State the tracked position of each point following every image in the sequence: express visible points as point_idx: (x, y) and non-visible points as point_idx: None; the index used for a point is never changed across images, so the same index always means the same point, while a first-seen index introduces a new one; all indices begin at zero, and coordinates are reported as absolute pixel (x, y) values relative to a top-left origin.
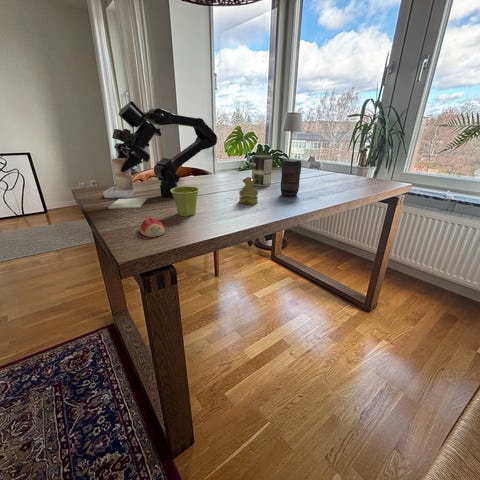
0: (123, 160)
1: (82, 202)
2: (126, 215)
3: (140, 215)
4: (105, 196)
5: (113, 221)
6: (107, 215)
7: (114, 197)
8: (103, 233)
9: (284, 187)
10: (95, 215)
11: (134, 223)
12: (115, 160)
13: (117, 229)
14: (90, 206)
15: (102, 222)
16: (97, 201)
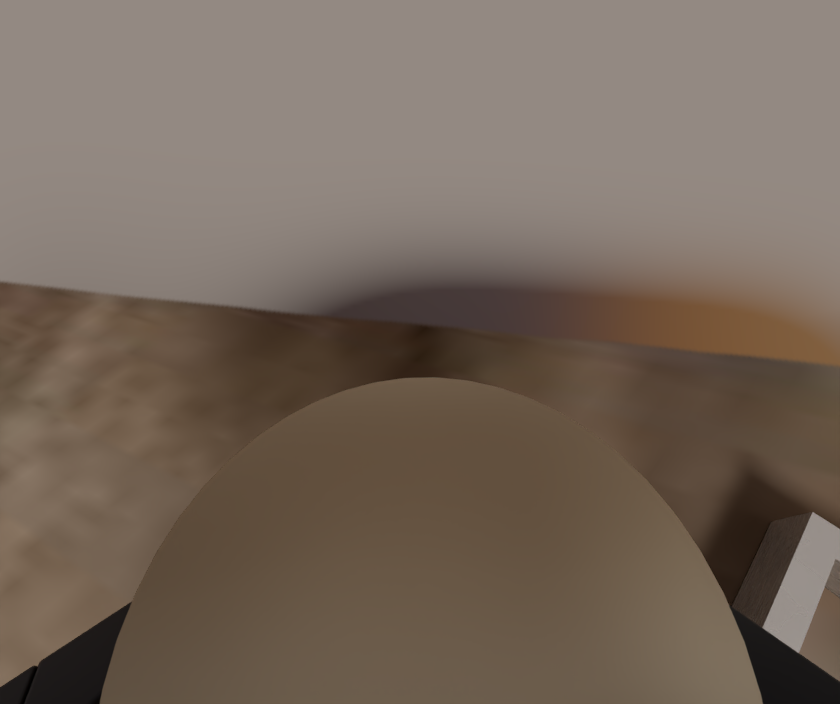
0: (122, 662)
1: (700, 356)
2: (185, 468)
3: (98, 541)
4: (778, 529)
5: (163, 373)
6: (286, 384)
7: (737, 600)
8: (71, 295)
9: None
10: (342, 338)
11: (24, 443)
12: (281, 420)
13: (47, 349)
14: (557, 367)
15: (201, 331)
16: (676, 440)
